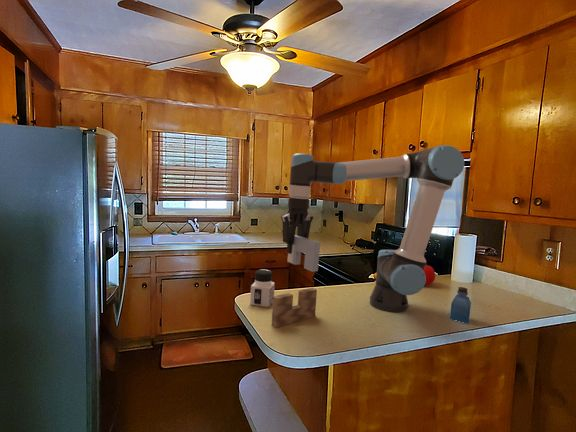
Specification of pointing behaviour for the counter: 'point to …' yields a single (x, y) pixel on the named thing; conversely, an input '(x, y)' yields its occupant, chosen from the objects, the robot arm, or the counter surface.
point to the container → (262, 289)
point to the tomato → (429, 275)
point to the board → (293, 307)
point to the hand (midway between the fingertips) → (293, 261)
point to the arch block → (307, 252)
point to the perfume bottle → (461, 306)
